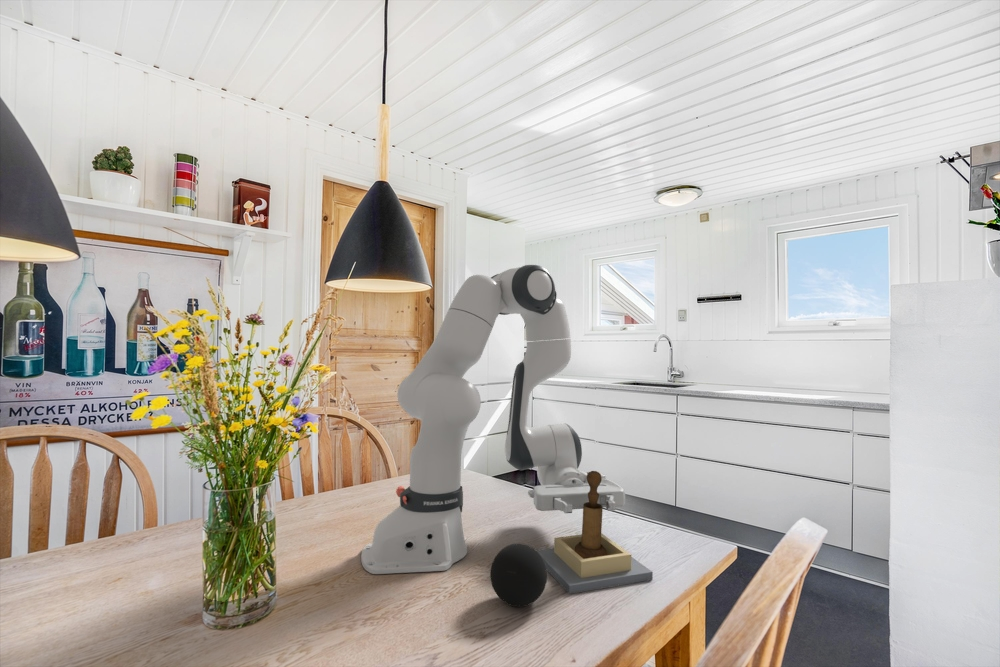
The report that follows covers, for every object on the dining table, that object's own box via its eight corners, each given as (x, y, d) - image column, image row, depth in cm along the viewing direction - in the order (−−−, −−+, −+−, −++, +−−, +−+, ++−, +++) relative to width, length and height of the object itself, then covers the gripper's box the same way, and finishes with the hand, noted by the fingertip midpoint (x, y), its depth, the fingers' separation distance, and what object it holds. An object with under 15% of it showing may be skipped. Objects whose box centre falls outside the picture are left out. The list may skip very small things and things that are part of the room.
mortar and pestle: (597, 570, 96) (602, 477, 96) (568, 560, 100) (572, 471, 100) (611, 559, 101) (615, 471, 102) (583, 550, 105) (587, 465, 105)
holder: (569, 593, 90) (569, 569, 90) (535, 557, 105) (535, 536, 105) (652, 579, 96) (652, 556, 96) (608, 547, 111) (608, 527, 111)
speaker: (534, 585, 93) (534, 532, 93) (555, 613, 83) (556, 553, 84) (483, 593, 90) (484, 538, 90) (499, 622, 80) (500, 561, 81)
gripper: (525, 476, 113) (542, 495, 99) (609, 473, 116) (636, 490, 103) (525, 504, 113) (541, 526, 99) (609, 500, 116) (636, 520, 103)
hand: (590, 508), depth 101 cm, fingers open, 8 cm apart
